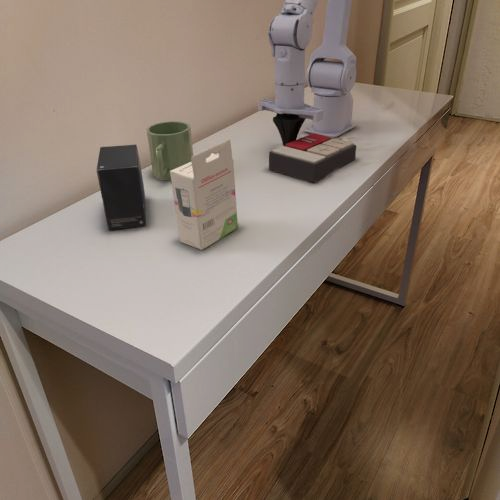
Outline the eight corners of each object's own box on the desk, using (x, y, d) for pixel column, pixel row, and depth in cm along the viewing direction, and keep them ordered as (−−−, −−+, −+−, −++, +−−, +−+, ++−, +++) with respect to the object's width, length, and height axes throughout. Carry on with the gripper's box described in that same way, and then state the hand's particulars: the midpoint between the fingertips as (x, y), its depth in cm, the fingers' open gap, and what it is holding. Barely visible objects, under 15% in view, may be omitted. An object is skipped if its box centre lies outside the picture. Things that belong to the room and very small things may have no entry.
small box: (148, 226, 81) (138, 165, 75) (107, 231, 80) (94, 170, 74) (146, 198, 90) (137, 142, 84) (109, 203, 89) (98, 146, 83)
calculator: (357, 141, 100) (315, 160, 90) (355, 161, 102) (314, 183, 92) (312, 131, 106) (268, 148, 97) (311, 150, 109) (267, 169, 99)
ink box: (215, 219, 82) (208, 131, 74) (239, 228, 79) (233, 138, 72) (177, 241, 77) (165, 149, 69) (200, 252, 74) (190, 156, 66)
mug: (160, 163, 104) (154, 120, 99) (199, 164, 102) (195, 121, 98) (141, 186, 94) (134, 140, 90) (183, 188, 93) (178, 141, 88)
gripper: (247, 81, 98) (250, 148, 106) (309, 92, 90) (307, 163, 97) (269, 74, 103) (270, 138, 110) (330, 83, 95) (327, 152, 102)
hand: (289, 149), depth 104 cm, fingers closed
